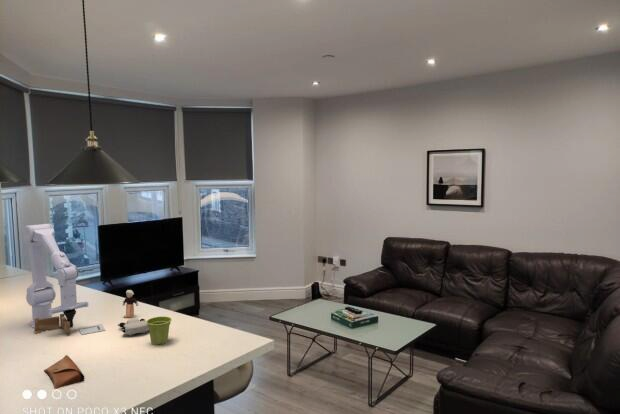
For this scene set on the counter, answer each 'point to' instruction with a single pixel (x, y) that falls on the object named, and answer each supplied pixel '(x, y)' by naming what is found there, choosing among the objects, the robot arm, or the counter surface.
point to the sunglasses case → (64, 373)
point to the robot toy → (134, 326)
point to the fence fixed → (46, 324)
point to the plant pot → (159, 329)
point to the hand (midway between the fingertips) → (70, 327)
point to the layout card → (91, 329)
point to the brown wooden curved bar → (65, 324)
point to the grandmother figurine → (129, 304)
